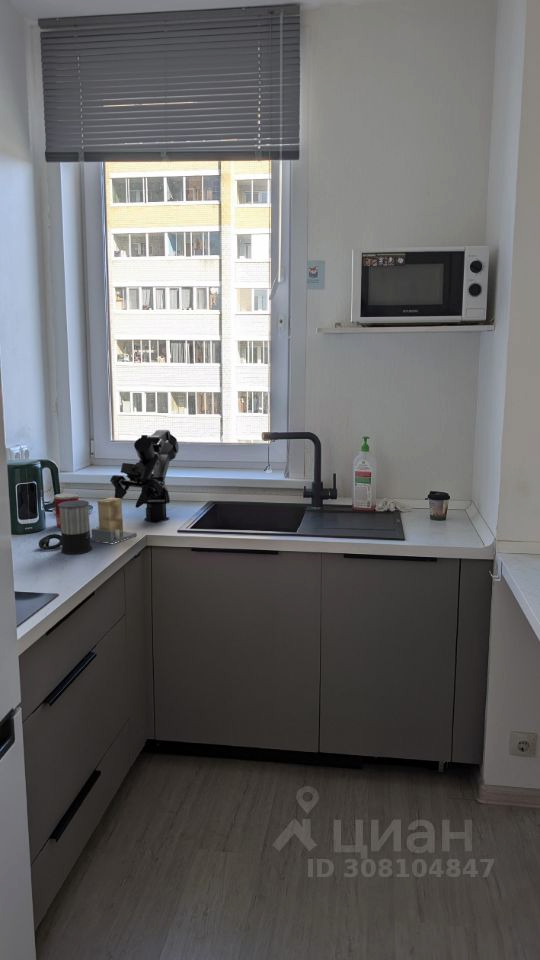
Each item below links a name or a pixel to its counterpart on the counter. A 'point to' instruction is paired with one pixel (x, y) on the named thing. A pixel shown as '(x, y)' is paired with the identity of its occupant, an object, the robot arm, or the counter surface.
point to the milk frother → (71, 529)
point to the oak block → (110, 514)
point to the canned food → (59, 499)
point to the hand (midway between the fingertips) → (125, 505)
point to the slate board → (110, 535)
